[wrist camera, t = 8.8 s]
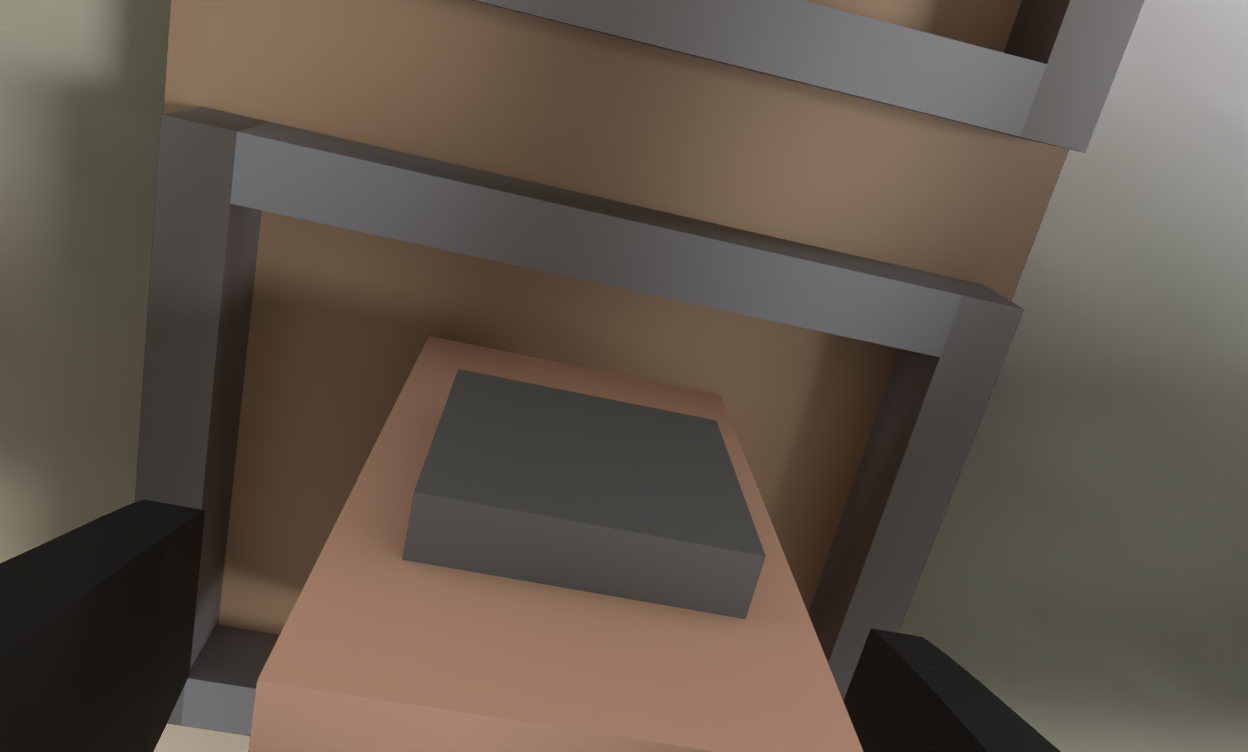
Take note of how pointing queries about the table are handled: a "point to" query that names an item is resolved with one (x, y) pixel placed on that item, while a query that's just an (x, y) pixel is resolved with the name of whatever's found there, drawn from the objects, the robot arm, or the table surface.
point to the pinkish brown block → (550, 581)
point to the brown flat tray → (597, 254)
